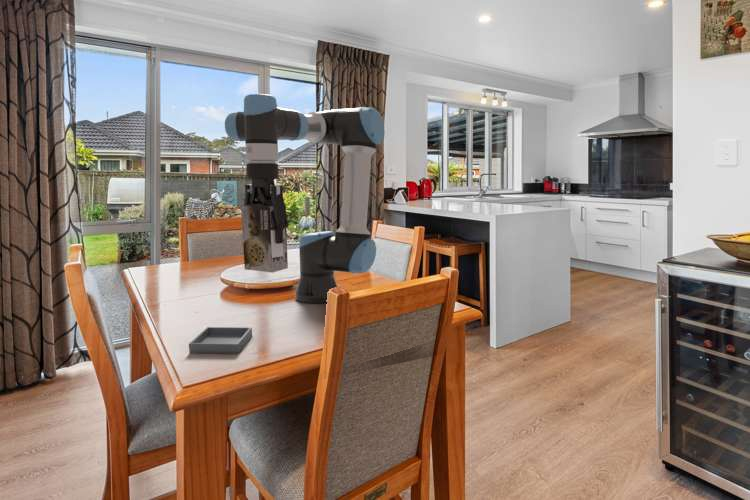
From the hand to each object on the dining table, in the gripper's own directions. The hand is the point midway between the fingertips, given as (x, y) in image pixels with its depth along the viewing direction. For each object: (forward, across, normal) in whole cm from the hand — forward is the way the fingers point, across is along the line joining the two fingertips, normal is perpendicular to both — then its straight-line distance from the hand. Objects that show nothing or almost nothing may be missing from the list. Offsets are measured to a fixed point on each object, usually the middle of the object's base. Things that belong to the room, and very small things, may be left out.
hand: (265, 253), depth 113 cm
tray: (+24, -8, -9) cm, 27 cm away
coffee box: (+4, 0, 0) cm, 4 cm away
